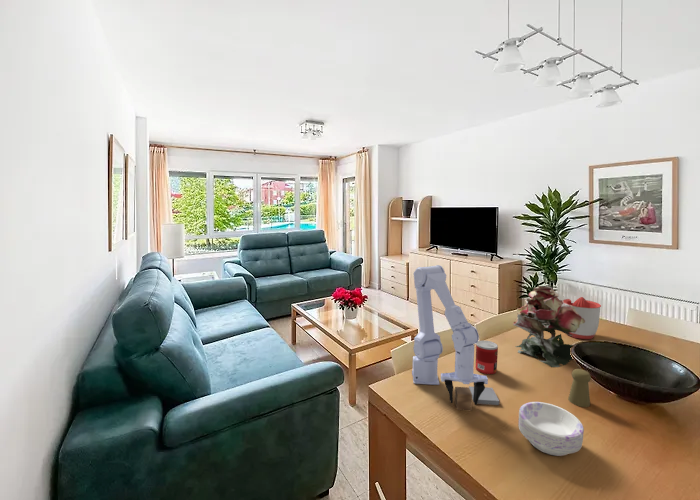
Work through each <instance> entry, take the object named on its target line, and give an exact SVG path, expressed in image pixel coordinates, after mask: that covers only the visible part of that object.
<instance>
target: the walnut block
mask: <svg viewBox="0 0 700 500" xmlns="http://www.w3.org/2000/svg"><path fill="white" fill-rule="evenodd" d="M454 404H455V407H456V410H457V411H468V412H472V410H473V409H472V408H473V407H472V406H473V405H472V404H473V399H472V394H471V391H470V389H469V386H467V387H465V386H455V387H454Z"/></svg>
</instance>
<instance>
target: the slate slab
mask: <svg viewBox="0 0 700 500" xmlns="http://www.w3.org/2000/svg"><path fill="white" fill-rule="evenodd" d="M468 388H469V389H470V391H471V394H472V403H474V401H473V395H474V386H471V385H470V386H469V385H468ZM493 388H494V387H486V386H485V389H484V391H483V392H482V393H481V395H480V397H479V399H478V402H477V405H491V406H500V400H499V398H498V396H497V394H496V392H495V390H494V389H493Z"/></svg>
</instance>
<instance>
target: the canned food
mask: <svg viewBox="0 0 700 500" xmlns="http://www.w3.org/2000/svg"><path fill="white" fill-rule="evenodd" d="M475 346H476V347H475V370H476V371H477V372H478V373H481V374H482V375H483V374H484V375H495V374H496V373H497V371H498V357H499V356H498V354H499V353H498V351H499V349H498V348H499V346H498V344H497V343H495V342H493V341H491V340H490V341H489V340H484V339H483V340H478V342H477V343H475Z"/></svg>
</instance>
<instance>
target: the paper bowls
mask: <svg viewBox="0 0 700 500" xmlns="http://www.w3.org/2000/svg"><path fill="white" fill-rule="evenodd" d="M518 429H519V432H520V433H521V434H522V435H523V437H524V438H525V439H526V440H527V441H529V443H530V444H531V445H532V446H533V447H534V448H535V449H537V450H538V451H539V452H542V453H544V454H547V455H551V456H557V457H562V456H567V455H568V454H569V455H570V454H575V453H577V452H579V451H580V450H581V448H582V446H583V441H584V431H585V429H584V425H583V423H582V422H581V421H580V419H579V418H578V417H576V416H575V415H574V414H573V413H571V412H570V411H568V410H566V409H565V408H562V407H560V406H557V405H555V404H552V403H548V402H542V401H529V402H526V403H523V404H522V405H521V406H520V407H519V411H518Z"/></svg>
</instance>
